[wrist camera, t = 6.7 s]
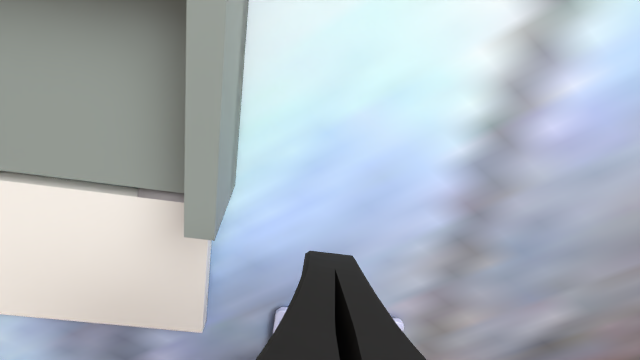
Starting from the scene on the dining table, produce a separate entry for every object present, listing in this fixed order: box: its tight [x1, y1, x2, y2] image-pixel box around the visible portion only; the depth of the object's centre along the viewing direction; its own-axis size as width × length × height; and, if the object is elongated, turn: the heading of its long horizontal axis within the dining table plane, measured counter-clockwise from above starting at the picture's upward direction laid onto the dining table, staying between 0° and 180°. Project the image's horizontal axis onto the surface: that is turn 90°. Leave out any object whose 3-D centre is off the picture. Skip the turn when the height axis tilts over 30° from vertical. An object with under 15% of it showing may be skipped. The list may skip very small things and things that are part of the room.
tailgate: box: [0, 171, 211, 333], centre depth 21 cm, size 8×14×1 cm, turn 81°
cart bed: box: [0, 0, 248, 241], centre depth 15 cm, size 11×16×5 cm
